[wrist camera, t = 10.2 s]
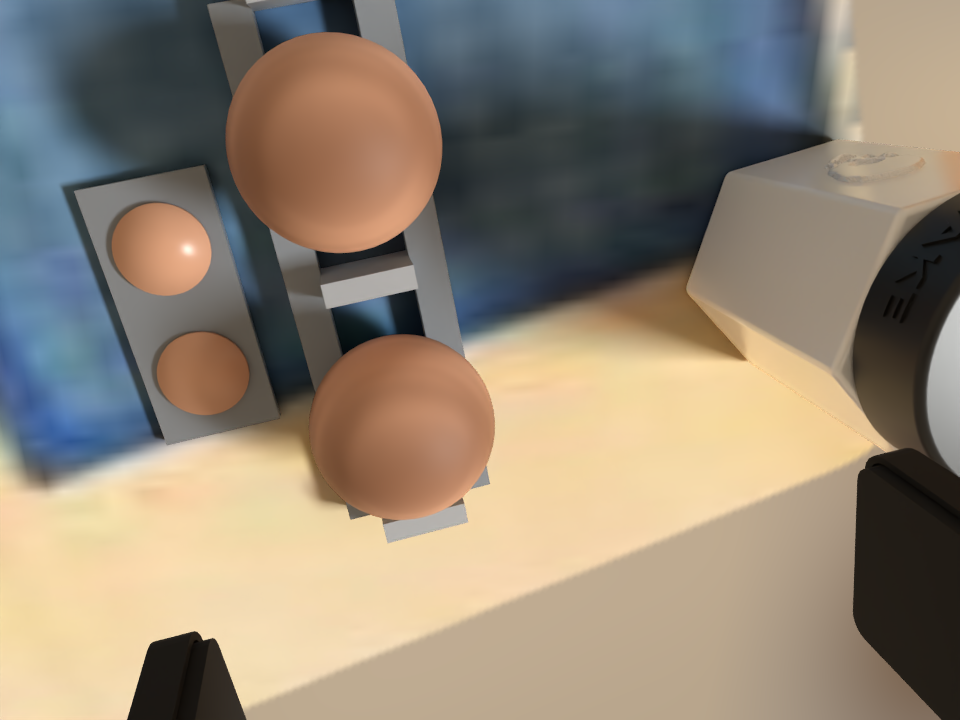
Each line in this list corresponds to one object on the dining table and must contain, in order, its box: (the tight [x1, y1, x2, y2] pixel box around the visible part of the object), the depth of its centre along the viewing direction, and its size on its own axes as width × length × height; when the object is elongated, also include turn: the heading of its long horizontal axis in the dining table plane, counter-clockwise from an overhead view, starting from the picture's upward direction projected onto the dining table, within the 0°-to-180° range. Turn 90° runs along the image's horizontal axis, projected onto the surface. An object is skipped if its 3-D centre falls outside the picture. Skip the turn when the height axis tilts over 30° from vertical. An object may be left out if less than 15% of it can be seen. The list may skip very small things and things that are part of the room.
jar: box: [686, 139, 960, 477], centre depth 24 cm, size 9×8×12 cm
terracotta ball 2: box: [309, 334, 495, 520], centre depth 25 cm, size 6×6×6 cm
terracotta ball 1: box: [225, 32, 442, 253], centre depth 22 cm, size 6×6×6 cm
